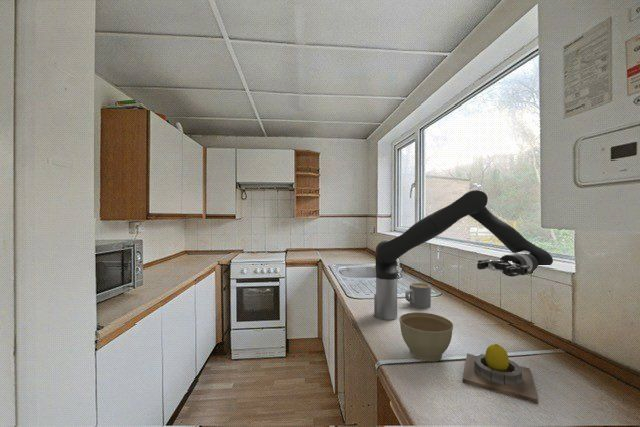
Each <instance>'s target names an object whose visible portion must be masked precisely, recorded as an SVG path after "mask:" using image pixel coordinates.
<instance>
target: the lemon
mask: <svg viewBox="0 0 640 427" xmlns="http://www.w3.org/2000/svg"><path fill="white" fill-rule="evenodd" d="M484 354H485V358H486V362H487V364H488V366H489V367H490V368H491V369H492V370H495V371H499V372H503V371H505V370H506V369H507V368H508V365H509V360H510V359H509V355H508V351H506V349H505V348H504V347H502V346H501V345H499V344H498V343H495V344H490V345H489V346H487V348H486V350H485V353H484Z"/></svg>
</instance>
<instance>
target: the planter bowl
mask: <svg viewBox="0 0 640 427" xmlns="http://www.w3.org/2000/svg"><path fill="white" fill-rule="evenodd" d="M399 325H400V332H401V335H402V339H403V341H404V343H405V344H406V346H407V347H408V349H409V352H410V355H412V357H414V358H416V359H418V360H421V361H425V362H432V363H433V362H437V361H440V360H441V359H442V356H443V354H444V353H445V352H446V351H447V350H448V348H449V347H450V344H451V342H452V338H453V337H452V336H453V330H454V323H453V322H452V321H451V320H449V319H448V318H446V317H444V316H441V315H438V314H435V313H429V312H420V311H418V312H417V311H414V312H412V311H411V312H407V313H403V314H402V315H400V316H399Z"/></svg>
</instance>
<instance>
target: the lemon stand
mask: <svg viewBox="0 0 640 427" xmlns="http://www.w3.org/2000/svg"><path fill="white" fill-rule="evenodd" d="M485 354H486V353H484V354H483V353H481V354H478V355H474V354H470V353H466V355H465V362H464V368H463V375H462V383H463V384H466V385H471V386H474V387H476V388H477V387H478V388H480V389H484V390H488V391H492V392H495V393H499V394H502V395H506V396H509V397H513V398H517V399H521V400H523V401H527V402H530V403H534V404H539V399H538V395H537V392H536V387H535V386H536V385H535V382H534V379H533V375H532V371H531V368H530V367H526V366H523V365H519V364H518V363H516V362H515V361H514V360H511V359H509V365H508V368H507V369H506V370H505V371H503V372H499V371H495V370H492V369H491V368H490V367H489V366H488V364H487V362H486V358H485Z"/></svg>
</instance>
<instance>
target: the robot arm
mask: <svg viewBox="0 0 640 427" xmlns="http://www.w3.org/2000/svg"><path fill="white" fill-rule="evenodd" d="M488 201H489V200H488V195H487V193H485V191H483V190H480V189H472V190H468V191H467V192H465V193H464V194H463V195H461V196H460V197H459V198H457V199H456V200H455V201H453V202H452V203H450V204H449V205H447V206H445V207H443V208H440V209H439V210H437V211H434V212H433V213H430V214H428V215H426V216H425V217H423V218H421V219H420V220H418V221H416V222H415V223H414V224H413V225H411V226H410V227H409V228H408V229H407V230H405V231H404V232H403V233H401V234H400V235H398V236H397V237H394V238H392V239H390V240H383V241H381V242H378V244H377V245H376V247H375V256H374V257H375V293H374V299H373V300H374V302H373V305H374V308H373V309H374V310H373V313H374V314H373V315H374V317H377V318H378V319H381V320H387V321H391V320H396V319H397V318H398V269H397V268H398V267H397V260H398V259H399V258H400V257H402V256H404V255H405V254H406V253H408V252H409V251H410V250H412V249H415V248H416V247H418V246H420V245H422V244H424V243H426V242H428V241H430V240H432V239H434V238H436V237H438V236H439V235H441V234H442V233H444V232H446V231H447V230H448V229H449V228H451V227H452V226H453V225H455V223H457V222H459V220H462V219H463V218H465V217H468V216H469V217H471V218H472V219H474V220H475V221H476V222H477V223H479V224H480V225H481V226H483V227H484V228H485V229H487V231H488V232H490V233H491V234H493V236H495V238H497V239H498V240H499V241H500V242H501V244H503V246H505V247H506V248H507V249H508V250H509V252H512V253H511V254H504V255H502V256H501V257H500V258H499V259H497V260H496V259H494V260H493V259H480V260H479V259H478V260H477V264H476V265H477V266H476V268H477V270H489V271H491V272H492V271H493V272H494V271H496V272H500V273H502V274H504V275H505V276H507V277H518V276H526V275H533V274H532V273H533V271H534V270H535V269H536V268H537V266H538V265H550V266H551V265H553V262H554V258H553V257H552V255H551V254H550V253H549V252H548V251H546V250H545V249H543V248H541V247H539V246H537V245H536V244H534V243H532V242H530V241H529V240H527V239H526V238H525V237H524V236H523V235H522V234H521V233H520V232H519V231H518V230H517V229H515V227H513V226H511V224H508V223H506V222H505V221H504V220H502V219H500V218H499V217H497V216H496V215H494V214H493V213H492V212H491V211H490V210H489V209H488V208H487V204H488ZM521 252H529V253H521Z"/></svg>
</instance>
